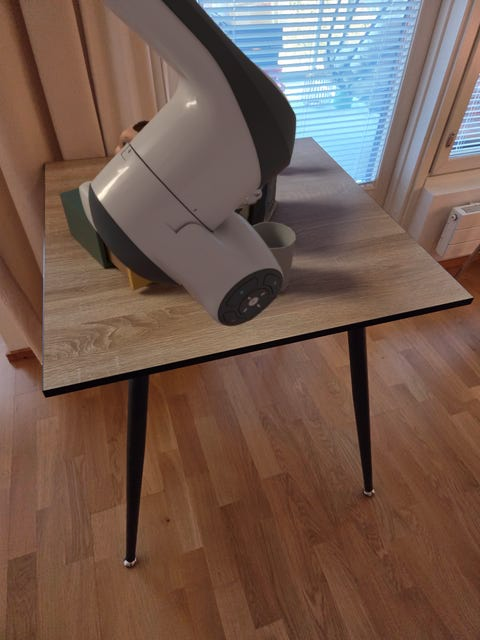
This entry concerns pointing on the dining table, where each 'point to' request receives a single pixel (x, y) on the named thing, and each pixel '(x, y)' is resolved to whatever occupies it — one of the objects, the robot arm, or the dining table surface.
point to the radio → (261, 205)
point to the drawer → (126, 271)
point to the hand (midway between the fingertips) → (149, 166)
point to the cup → (279, 245)
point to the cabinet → (83, 227)
